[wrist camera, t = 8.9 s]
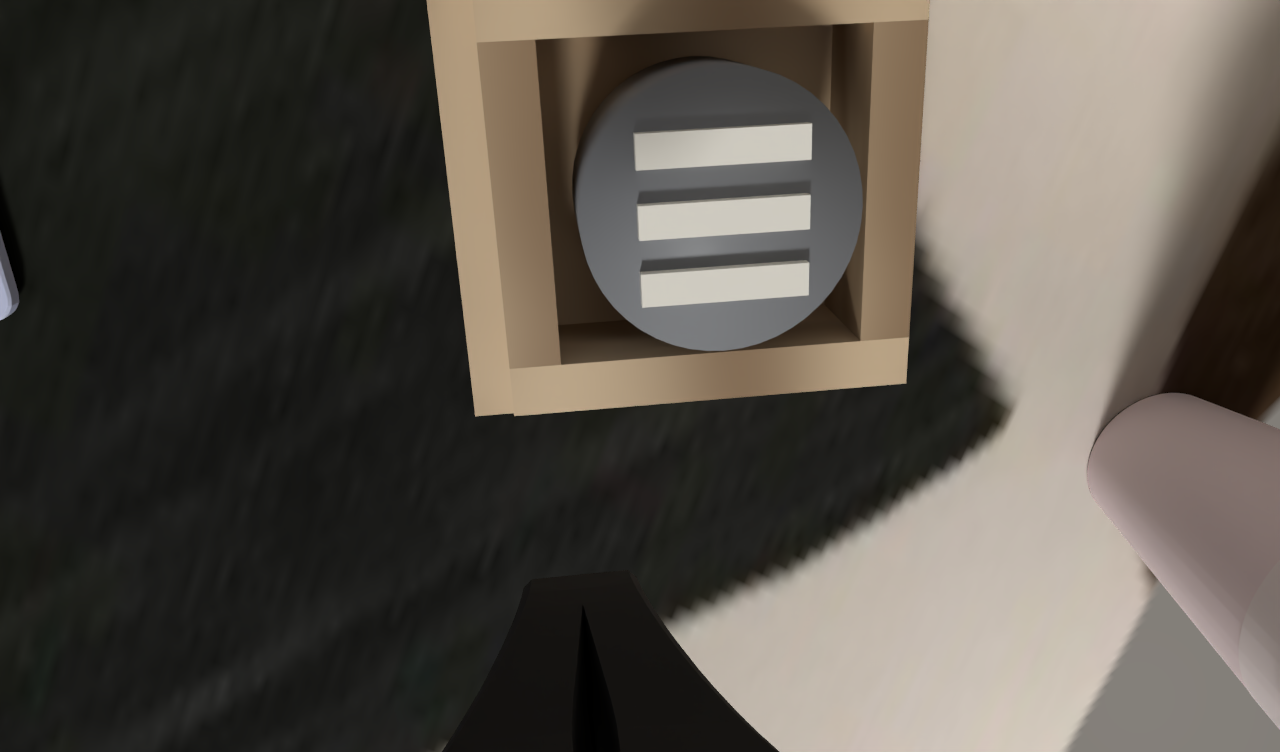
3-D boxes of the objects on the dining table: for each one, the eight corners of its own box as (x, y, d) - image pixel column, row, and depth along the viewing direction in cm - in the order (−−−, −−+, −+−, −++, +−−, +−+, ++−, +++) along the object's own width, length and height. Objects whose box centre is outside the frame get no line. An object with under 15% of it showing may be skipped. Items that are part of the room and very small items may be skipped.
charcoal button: (580, 312, 20) (589, 365, 17) (562, 62, 18) (569, 74, 15) (812, 294, 21) (860, 343, 18) (818, 49, 19) (872, 57, 16)
